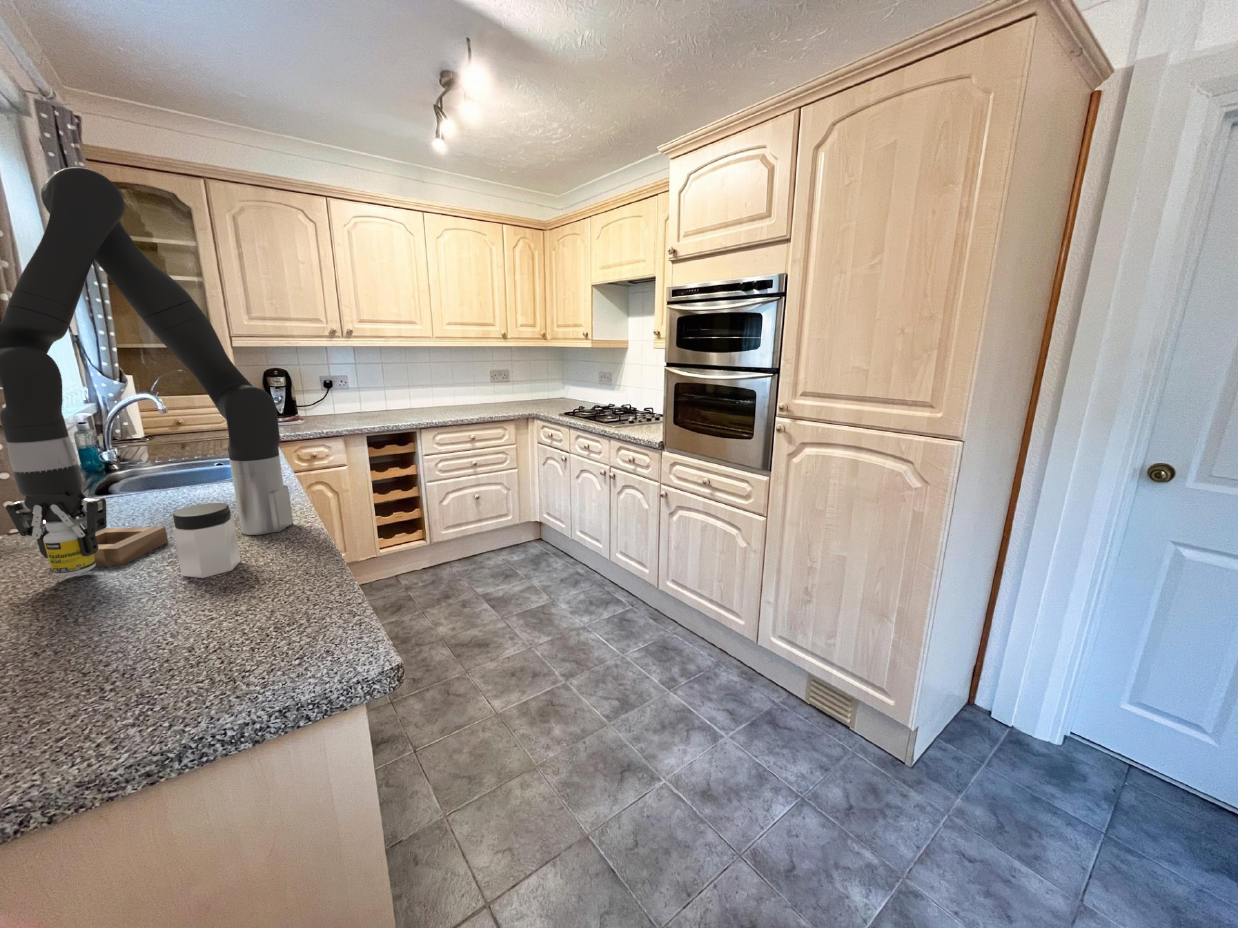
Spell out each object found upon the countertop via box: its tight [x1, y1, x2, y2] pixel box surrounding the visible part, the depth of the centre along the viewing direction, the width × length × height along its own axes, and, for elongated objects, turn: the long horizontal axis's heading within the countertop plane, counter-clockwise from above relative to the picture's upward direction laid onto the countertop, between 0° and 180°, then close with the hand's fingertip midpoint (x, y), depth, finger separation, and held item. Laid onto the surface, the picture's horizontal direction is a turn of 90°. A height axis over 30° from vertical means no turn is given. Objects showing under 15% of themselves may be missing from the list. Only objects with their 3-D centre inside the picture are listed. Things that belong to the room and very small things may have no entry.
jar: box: [172, 502, 241, 579], centre depth 94 cm, size 9×8×12 cm
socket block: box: [94, 526, 169, 567], centre depth 100 cm, size 12×12×4 cm
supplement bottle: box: [43, 516, 96, 577], centre depth 89 cm, size 5×5×10 cm
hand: (71, 554), depth 90 cm, fingers closed on supplement bottle, 5 cm apart
